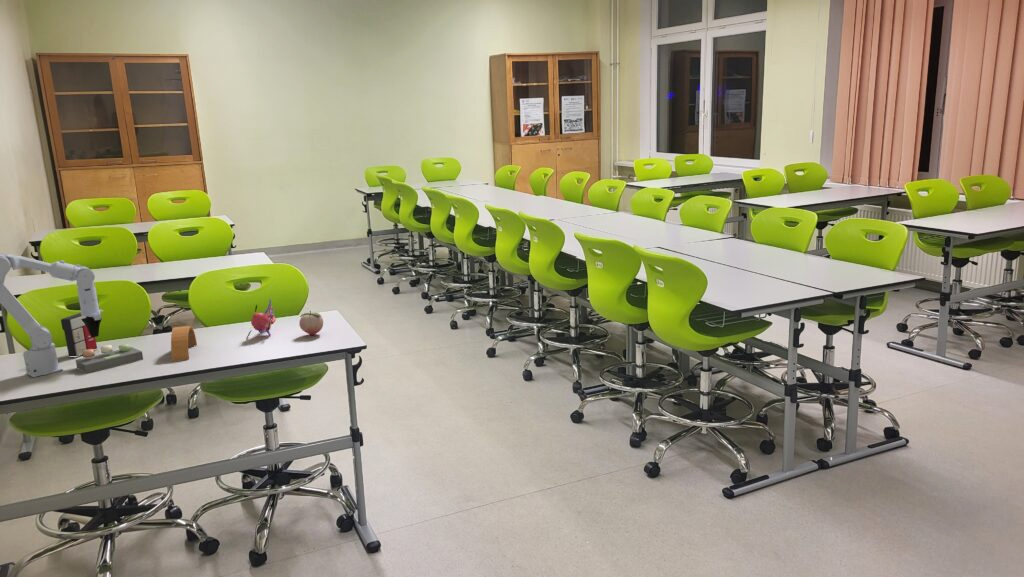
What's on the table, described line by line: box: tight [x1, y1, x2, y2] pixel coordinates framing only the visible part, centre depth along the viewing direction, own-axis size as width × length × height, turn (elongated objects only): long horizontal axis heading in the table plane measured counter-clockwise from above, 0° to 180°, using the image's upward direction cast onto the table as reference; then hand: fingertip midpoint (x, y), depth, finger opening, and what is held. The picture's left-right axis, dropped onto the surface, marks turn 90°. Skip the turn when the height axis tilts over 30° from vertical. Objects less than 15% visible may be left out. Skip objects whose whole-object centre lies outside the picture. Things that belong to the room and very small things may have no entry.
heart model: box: [246, 299, 277, 339], centre depth 293 cm, size 17×10×20 cm
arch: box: [170, 325, 198, 362], centre depth 274 cm, size 6×20×10 cm, turn 15°
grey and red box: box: [60, 312, 98, 357], centre depth 279 cm, size 11×4×15 cm, turn 168°
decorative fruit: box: [299, 310, 324, 336], centre depth 290 cm, size 9×8×10 cm
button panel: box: [75, 346, 144, 374], centre depth 266 cm, size 19×10×3 cm, turn 137°
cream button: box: [100, 344, 114, 354], centre depth 266 cm, size 4×4×2 cm
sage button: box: [118, 343, 131, 352], centre depth 270 cm, size 4×4×2 cm
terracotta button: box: [82, 349, 96, 358], centre depth 262 cm, size 4×4×2 cm
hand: (94, 336), depth 268 cm, fingers closed
